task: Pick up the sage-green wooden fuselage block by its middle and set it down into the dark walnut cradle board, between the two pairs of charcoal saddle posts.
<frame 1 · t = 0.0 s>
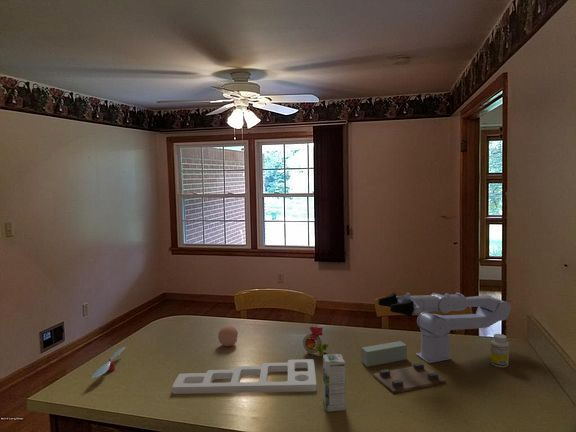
hand: (384, 305, 144), 22 cm above the table, tool horizontal, fingers open, 7 cm apart
supplement bottle: (499, 365, 145), on the table
toy ball: (228, 346, 167), on the table
propeller: (110, 370, 148), on the table
holder: (247, 380, 140), on the table
cradle board: (408, 379, 136), on the table
bird rattle: (315, 354, 157), on the table
fuselage block: (384, 361, 150), on the table
syrup box: (334, 406, 122), on the table
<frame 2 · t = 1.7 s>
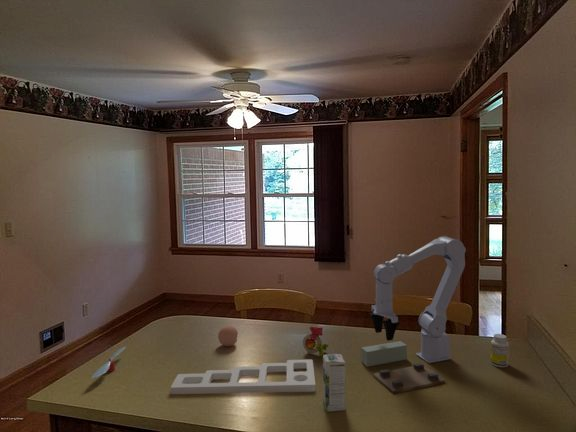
hand: (384, 336, 149), 9 cm above the table, tool pointing down, fingers open, 7 cm apart
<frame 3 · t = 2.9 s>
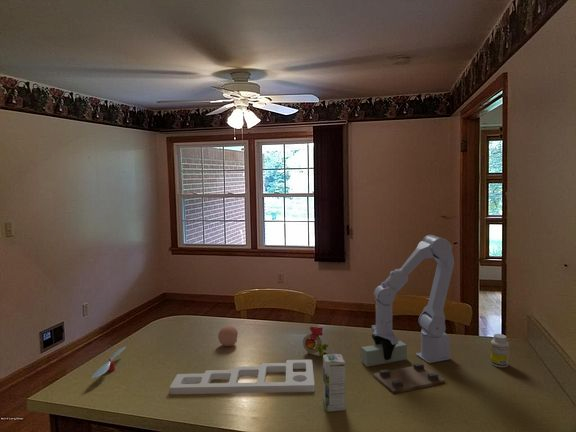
hand: (384, 356, 150), 1 cm above the table, tool pointing down, fingers closed on fuselage block, 4 cm apart
fuselage block: (384, 360, 150), on the table, touching gripper
everything else where it was.
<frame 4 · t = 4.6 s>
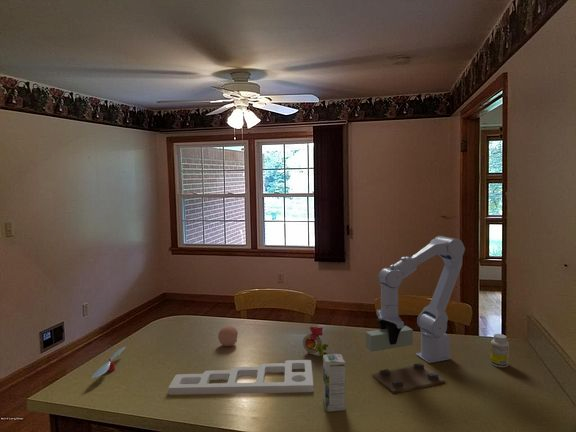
hand: (389, 341, 146), 8 cm above the table, tool pointing down, fingers closed on fuselage block, 4 cm apart
fuselage block: (389, 346, 146), point 7 cm above the table, touching gripper
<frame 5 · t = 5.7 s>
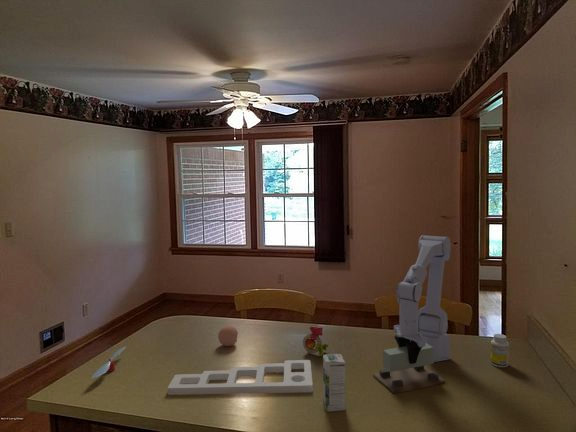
hand: (408, 360, 135), 6 cm above the table, tool pointing down, fingers closed on fuselage block, 4 cm apart
fuselage block: (408, 365, 136), point 5 cm above the table, touching gripper
when the fingers open (3 cm above the table, at t = 6.6 s): fuselage block stays where it is, resting on cradle board.
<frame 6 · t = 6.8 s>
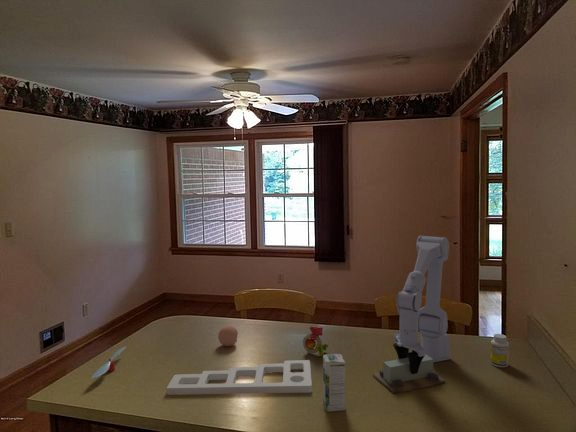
hand: (408, 369, 136), 3 cm above the table, tool pointing down, fingers open, 5 cm apart
fuselage block: (408, 377, 136), point 1 cm above the table, touching cradle board
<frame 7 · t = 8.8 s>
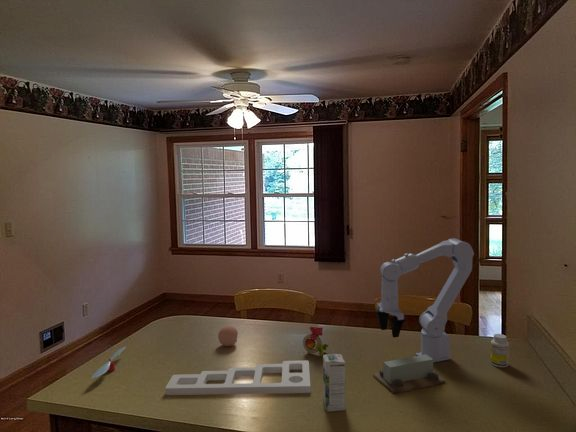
hand: (389, 333, 151), 9 cm above the table, tool pointing down, fingers open, 7 cm apart
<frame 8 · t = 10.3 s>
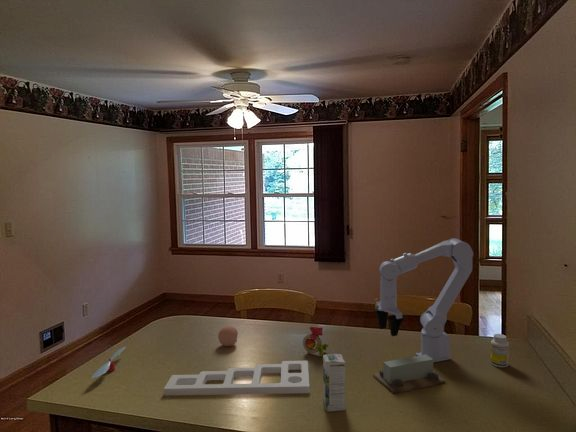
hand: (388, 331, 152), 9 cm above the table, tool pointing down, fingers open, 7 cm apart
at the end: fuselage block 0.1 cm off-centre on the cradle board, point 0.8 cm above the cradle board's base; fuselage block tilted 0°; the gripper is holding nothing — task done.
